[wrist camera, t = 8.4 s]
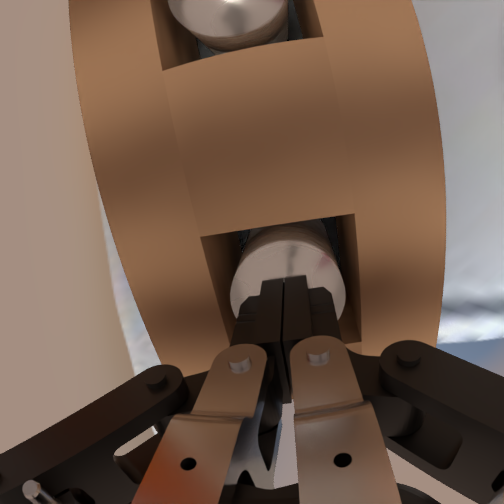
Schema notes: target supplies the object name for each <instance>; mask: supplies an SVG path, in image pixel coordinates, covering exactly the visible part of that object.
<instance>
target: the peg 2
mask: <svg viewBox="0 0 504 504" xmlns="http://www.w3.org/2000/svg"><path fill="white" fill-rule="evenodd" d="M299 275H306V276H307V283H308V289H309V288H317V287H325V288H326V289H327V290H328V291H330V292H331V293H332V297H333V302H334V306H335V311H336V315H337V320H338V319H339V318H340V316H341V314H342V312H343V308H344V305H345V286H344V283H343V279H342V276H341V273H340V270H339V267H338V264H337V261H336V258H335V255H334V252H333V249H332V246H331V243H330V241H329V238H328V235H327V232H326V229H325V226H324V225H323V223H322V221H321V220H320V218H318V219H311V220H305V221H298V222H291V223H285V224H278V225H272V226H265V227H259V228H252V229H251V231H250V233H249V236H248V239H247V242H246V245H245V248H244V250H243V253H242V256H241V259H240V262H239V265H238V268H237V270H236V273H235V276H234V279H233V282H232V286H231V292H230V301H231V306H232V310H233V313H234V315H235V317H236V319H237V316H238V313H239V309H240V305H241V304H242V303H243V302H244V301H245V300H246V299H247V298H248V297H249V296H256V295H260V290H261V284H262V281H263V280H270V279H278V278H284V281H285V277H292V276H299Z"/></svg>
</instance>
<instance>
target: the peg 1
mask: <svg viewBox="0 0 504 504" xmlns="http://www.w3.org/2000/svg"><path fill="white" fill-rule="evenodd" d="M168 4H169V7H170V10H171V12H172V14H173V15H174V17H175V18H176V19H177V20H178V21H179V22H180V23H181V24H182V25H183V26H184V27H185V28H187V29H188V30H189V31H190V32H191V33H192V34H193V35H194V36H195V37H197V38H198V39H199V40H200V41H201V42H202V43H203V44H204V45H205V46H206V47H207V48H208V49H210V50H211V51H212V52H213V53H214V54H215V55H220V54H224V53H228V52H233V51H237V50H242V49H247V48H252V47H257V46H262V45H268V44H274V43H280V42H286V41H287V38H288V0H168Z"/></svg>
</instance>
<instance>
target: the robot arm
mask: <svg viewBox="0 0 504 504" xmlns="http://www.w3.org/2000/svg"><path fill="white" fill-rule="evenodd" d="M292 395H293V400H294V408H295V414H294V430H295V442H296V456H297V469H298V483H296V484H293V485H289V486H285V487H281V488H277V489H274V484H273V483H274V472H275V467H276V461H277V455H278V449H279V442H280V436H281V430H282V420H281V417H282V404H285V403H291V402H292ZM151 426H154V428H155V429H156V431H157V432H158V433H157V434H156V435H154V436H153V437H151V438H150V439H148V440H147V441H145V442H144V443H142V444H141V445H139V446H138V447H136V448H135V449H133V450H132V451H130V452H129V453H127V454H125V455H123V456H115V455H114V453H115V451H116V450H117V449H118V448H119V447H121V446H122V445H124V444H125V443H127V442H128V441H130V440H131V439H133V438H134V437H136V436H138V435H139V434H141V433H142V432H144V431H145V430H147V429H148V428H150V427H151ZM386 448H388V449H389V450H391V451H392V452H394V453H395V454H397V455H398V456H400V457H401V458H403V459H405V460H406V461H408V462H409V463H411V464H412V465H414V466H415V467H417V468H419V469H420V470H422V471H424V472H425V473H427V474H428V475H430V476H431V477H433V478H435V479H436V480H438V481H440V482H442V483H443V484H445V485H446V486H448V487H450V488H452V489H453V490H456V491H457V492H459V493H460V494H462V495H464V496H466V497H467V498H469V499H471V500H473V501H475V502H476V503H478V504H504V377H502V376H500V375H498V374H495V373H493V372H491V371H488V370H486V369H484V368H481V367H479V366H477V365H474V364H472V363H470V362H467V361H465V360H463V359H460V358H458V357H456V356H453V355H451V354H449V353H447V352H444V351H442V350H440V349H437V348H435V347H433V346H430V345H428V344H426V343H423V342H421V341H416V340H402V341H398V342H395V343H393V344H391V345H389V346H388V347H386V348H385V349H384V350H383V352H382V353H381V355H380V356H367V355H361V354H357V353H355V352H353V351H351V350H349V349H348V348H347V347H346V346H345V344H344V343H343V342H342V338H341V334H340V329H339V324H338V320H337V315H336V311H335V306H334V302H333V297H332V293H331V292H330V291H328V290H327V289H326V288H325V287H317V288H309V289H308V283H307V276H306V275H299V276H292V277H285V281H284V278H278V279H270V280H263V281H262V284H261V290H260V295H256V296H249V297H248V298H247V299H246V300H245V301H244V302H243V303H242V304H241V305H240V309H239V313H238V316H237V320H236V324H235V328H234V331H233V335H232V339H231V343H230V346H229V348H227V349H225V350H223V351H222V352H220V353H219V354H218V355H217V356H216V357H215V359H214V361H213V363H212V365H211V368H210V370H208V371H205V372H202V373H198V374H194V375H190V376H186V377H184V376H183V374H182V372H181V370H180V369H179V368H178V367H176V366H173V365H168V364H163V365H157V366H153V367H151V368H148V369H146V370H145V371H143V372H141V373H140V374H138V375H137V376H135V377H133V378H132V379H130V380H128V381H127V382H125V383H124V384H122V385H120V386H119V387H117V388H116V389H114V390H112V391H110V392H109V393H107V394H105V395H104V396H102V397H100V398H99V399H97V400H95V401H94V402H92V403H90V404H89V405H87V406H85V407H84V408H82V409H80V410H79V411H77V412H75V413H73V414H72V415H70V416H68V417H67V418H65V419H63V420H61V421H60V422H58V423H56V424H54V425H53V426H51V427H49V428H47V429H46V430H44V431H42V432H40V433H38V434H37V435H35V436H33V437H31V438H30V439H28V440H26V441H24V442H23V443H20V444H19V445H17V446H15V447H13V448H12V449H9V450H7V451H6V452H4V453H2V454H0V504H441V503H439V502H438V501H436V500H435V499H433V498H432V497H430V496H429V495H427V494H425V493H424V492H422V491H420V490H418V489H416V488H413V487H410V486H407V485H404V484H399V483H396V481H395V477H394V474H393V470H392V467H391V463H390V460H389V456H388V453H387V450H386Z"/></svg>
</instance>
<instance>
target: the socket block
mask: <svg viewBox="0 0 504 504" xmlns="http://www.w3.org/2000/svg"><path fill="white" fill-rule="evenodd" d="M293 2H294V6H295V10H296V13H297V17H298V21H299V25H300V28H301V32H302V36H303V39H301V40H293V41H286V42H280V43H274V44H268V45H262V46H257V47H252V48H247V49H242V50H237V51H233V52H228V53H224V54H220V55H216V56H212V57H208V58H204V59H201V60H200V56H199V51H198V46H197V41H196V37H195V36H194V35H193V34H192V33H191V32H190V31H189V30H188V29H187V28H185V27H184V26H183V25H182V24H181V23H180V22H179V21H178V20H177V19H176V18H175V17H174V15H173V14H172V12H171V10H170V7H169V4H168V0H69V16H70V30H71V41H72V51H73V59H74V67H75V74H76V81H77V87H78V94H79V100H80V106H81V111H82V116H83V121H84V127H85V132H86V137H87V141H88V146H89V150H90V155H91V159H92V163H93V167H94V172H95V176H96V180H97V183H98V187H99V191H100V195H101V198H102V202H103V205H104V209H105V212H106V216H107V219H108V223H109V226H110V229H111V232H112V236H113V239H114V242H115V245H116V248H117V251H118V254H119V257H120V260H121V263H122V266H123V269H124V272H125V274H126V277H127V280H128V283H129V286H130V288H131V291H132V294H133V296H134V299H135V302H136V304H137V307H138V309H139V312H140V314H141V317H142V319H143V322H144V324H145V327H146V329H147V332H148V334H149V336H150V339H151V341H152V343H153V346H154V348H155V350H156V352H157V355H158V357H159V359H160V361H161V364H162V365H163V364H168V365H173V366H176V367H178V368H179V369H180V370H181V372H182V374H183V376H184V377H186V376H190V375H194V374H198V373H202V372H205V371H208V370H210V368H211V365H212V363H213V361H214V359H215V357H216V356H217V355H218V354H219V353H220V352H222V351H223V350H225V349H227V348H229V346H230V343H231V339H232V335H233V331H234V328H235V324H236V320H237V319H236V317H235V315H234V313H233V310H232V306H231V301H230V292H231V286H232V282H233V279H234V276H235V273H236V270H237V268H238V265H239V262H240V259H241V256H242V251H241V247H240V242H239V238H238V233H237V231H240V230H246V229H252V228H259V227H265V226H272V225H278V224H285V223H291V222H298V221H305V220H311V219H318V218H325V217H332V216H335V217H336V225H337V234H338V244H339V253H340V264H341V276H342V279H343V283H344V286H345V305H344V308H343V312H342V314H341V316H340V318H339V319H338V324H339V329H340V334H341V338H342V342H343V343H344V344H345V346H346V347H347V348H348V349H349V350H351V351H353V352H355V353H357V354H361V355H367V356H380V355H381V353H382V352H383V350H384V349H385V348H386V347H388V346H389V345H391V344H393V343H395V342H398V341H402V340H416V341H421V342H423V343H426V344H428V345H430V346H433V347H435V348H436V343H437V336H438V329H439V322H440V314H441V306H442V296H443V285H444V271H445V251H446V193H445V173H444V160H443V149H442V139H441V131H440V123H439V116H438V109H437V103H436V97H435V91H434V86H433V80H432V76H431V71H430V66H429V62H428V57H427V53H426V49H425V45H424V41H423V37H422V34H421V30H420V27H419V23H418V20H417V16H416V13H415V10H414V7H413V4H412V1H411V0H293ZM292 399H293V395H292Z"/></svg>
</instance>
